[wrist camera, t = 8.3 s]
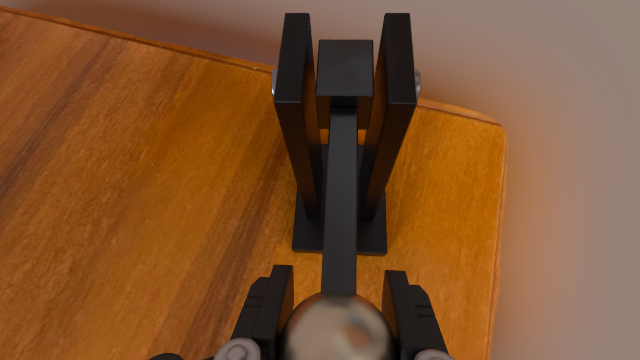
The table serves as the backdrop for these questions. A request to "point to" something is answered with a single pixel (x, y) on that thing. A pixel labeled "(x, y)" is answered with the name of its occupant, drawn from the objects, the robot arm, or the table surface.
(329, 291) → the switch lever
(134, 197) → the table surface
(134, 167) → the table surface
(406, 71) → the switch bracket
